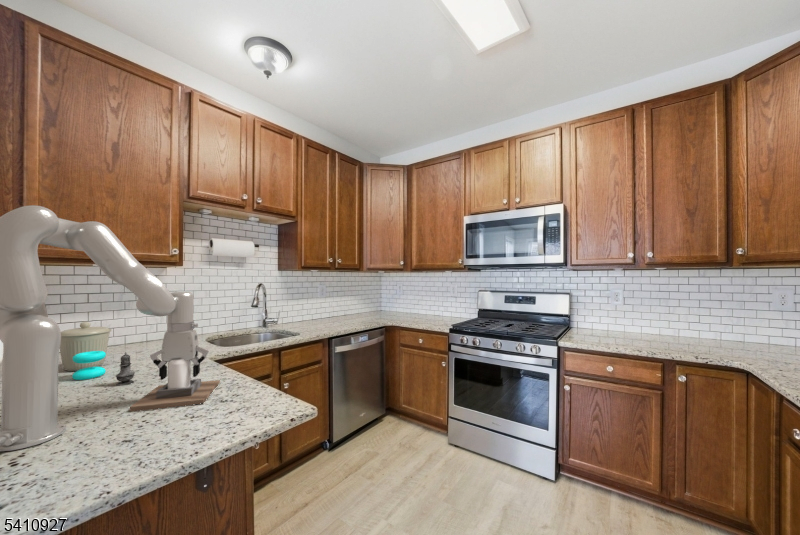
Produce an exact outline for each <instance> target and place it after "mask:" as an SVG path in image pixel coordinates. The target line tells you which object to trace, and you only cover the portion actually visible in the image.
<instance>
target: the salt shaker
mask: <svg viewBox="0 0 800 535" xmlns="http://www.w3.org/2000/svg"><path fill="white" fill-rule="evenodd" d="M131 365H132V363H131V355H130V354H127V352H124V355H123V354H122V355H121V356H120V364H119V369H120V370H119V373H117V374H116V375H115V378H116V380H117V381H118V382H117V383H116V386H117V387H118V386H120V387H121V386H122V387H123V386H128V385H132V384H133V383H135V381H134V380H133V378H134V376H135V374H136V372H135V371H132V369H131ZM131 383H132V384H131Z"/></svg>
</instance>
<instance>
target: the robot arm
mask: <svg viewBox="0 0 800 535" xmlns="http://www.w3.org/2000/svg"><path fill="white" fill-rule="evenodd" d="M39 245H46V246H51V247H55V248H56V247H57V248H61V249H67V250H73V251H74V250H75V251H78V252H79V251H80V252H84V254H85V255H86V256H87V257H89V258H90V259H91V261H93V263H94V264H95V265H96V266H97V267H98V268H99V269H100V271H102V273H103V274H104V275H105V276H106V277H107V278H109V279H111V280H112V281H113V282H115V283H117V284H119V285H121V286H122V287H124V288H126V290H128V291H130V292H131V293H132V294H133V295H135V297H137V300H136V302H135V303H136V304H135V305H136V309H137V310H138V312H140V313H142V314H143V315H146V316H154V317H166V316H167V318H166V325H167V326H166V332H164V334H163V339H162V346H161V349H159V350H158V351H156V352H154V353H152V354H149V357H150V359H151V360H152V362H153V364H154V365H155V366H157V368H158V370H159V371H158V372H159V373H158V376H159V377H160V381H162V380H164V379H166V378H168V365H166V364H167V363H168V362H170V361H171V359H183V358H184V360H186V361H187V360H190V361H191V363H193V364H194V365H193V367H192V377H193V378H196V377H198V376H199V374H200V373H201V372H200V371H201V363H202V362H203V361H204V360H205V359H206V358H207V357H208V354H209V350H208V349H205V348H203V347H200V346H199V339H198V333H197V329H195V328H198V327H199V324H198V323H195V322H194V300H195V299H194V294H193V293H192V292H190V291H175V292H174V291H173V292H171V291H169V289H168V288H167V286H165V284H164V283H163V282H162V281H161V280H160V279H159V278H158V277H157V276H155V274H153V273H152V272H151V271H150V270H149V269H148V268H146V266H144V265H143V264H142V263H140V262H139V260H137V259H136V257H134V255H133V254H132V253H131V252H130V250H128V249H127V247H126V246H125V245H124V244H123V243H122V241H121V240H120V239H119V238H118V236H116V234H115V233H114V232H113V231H112V230H111V229H110V228H109V226H107V225H105V224H104V223H102V222H99V221H96V220H95V221H93V220H92V221H89V220H88V221H84V222H78V221H74V220H69V219H64V218H60V217H58V216H57V214H56V213H55V212H54V211H53V210H51V209H49V208H47V207H45V206H43V205H42V206H41V205H32V204H31V205H25V206H20V207H17V208H15V209H12V210H11V211H8V212H6V213H4V214H3V215H1V216H0V341H1V343H2V344H3V350H2V351H3V352H2V353H3V354H2V363H1V364H2V366H1V412H0V416H1V417H0V452H10V451H15V450H16V451H17V450H21V449H25V448H29V447H33V446H36V445H39V444H43V443H46V442H48V441H51V440H53V439H55V438H57V437H59V436H60V435H62V434H63V433H65V431H66V427H67V426H66V424H64V423H63V422H61V423H60V422H58V418H59V417H58V411H59V410H58V408H59V407H58V406H59V361H60V360H59V357H60V343H61V332H62V331H61V327H60V326H59V324H58V323H57V322H56V321H55V320H53V319H52V318H50V317H49V315H48V314H49V313H48V310H47V307H46V303H45V302H46V300H47V298H48V294H49V293H48V288H47V285H46V282H45V280H44V276H43V273H42V269H41V264H40V259H39V254H38V253H39V250H38V248H39ZM199 353H201V354H202V355H201V357H198V356H199ZM159 355H160V356H161V359H159V357H158V356H159Z"/></svg>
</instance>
